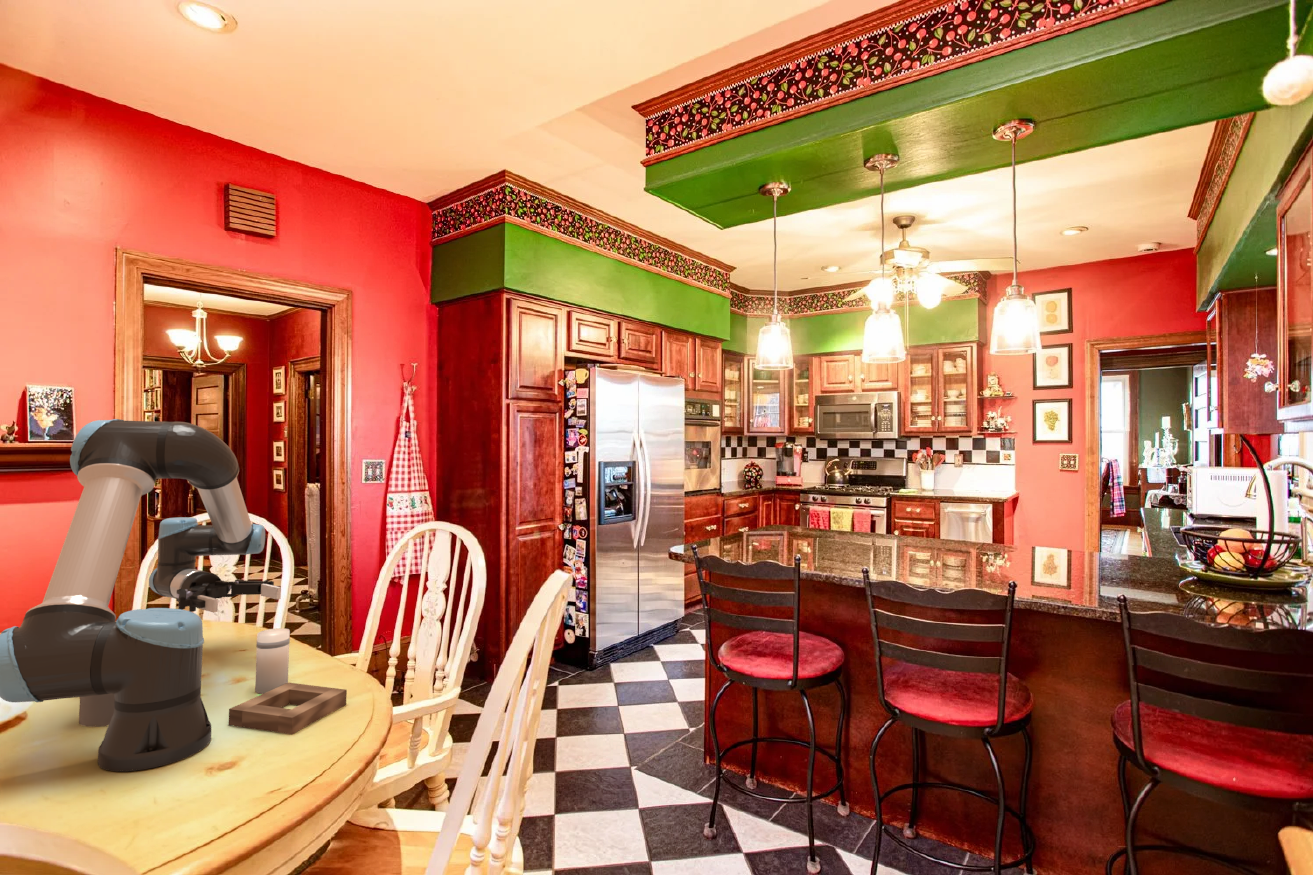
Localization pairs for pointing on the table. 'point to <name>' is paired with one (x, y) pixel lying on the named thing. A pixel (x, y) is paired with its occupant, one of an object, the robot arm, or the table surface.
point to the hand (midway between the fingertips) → (248, 599)
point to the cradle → (273, 717)
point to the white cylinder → (272, 659)
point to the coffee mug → (96, 710)
